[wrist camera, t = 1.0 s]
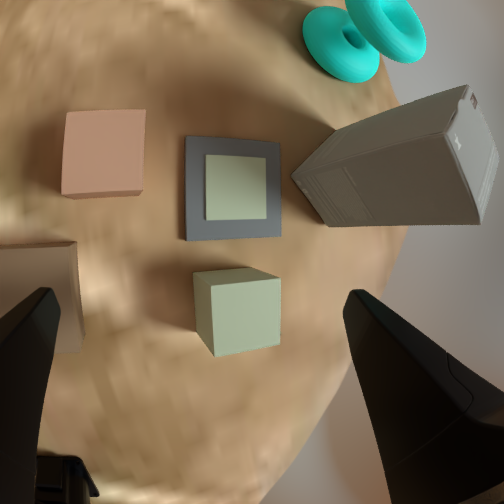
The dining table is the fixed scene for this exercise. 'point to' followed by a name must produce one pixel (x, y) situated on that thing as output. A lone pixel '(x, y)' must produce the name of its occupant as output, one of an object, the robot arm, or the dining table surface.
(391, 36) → the donuts
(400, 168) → the skincare box
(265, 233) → the card
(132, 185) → the terracotta cube
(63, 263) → the walnut block
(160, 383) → the dining table surface
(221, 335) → the sage cube
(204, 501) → the dining table surface
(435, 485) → the robot arm
